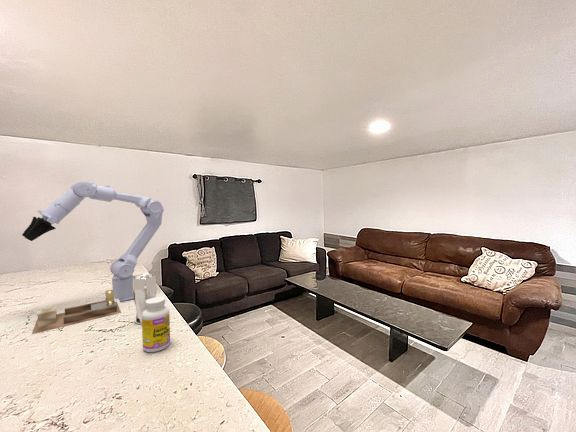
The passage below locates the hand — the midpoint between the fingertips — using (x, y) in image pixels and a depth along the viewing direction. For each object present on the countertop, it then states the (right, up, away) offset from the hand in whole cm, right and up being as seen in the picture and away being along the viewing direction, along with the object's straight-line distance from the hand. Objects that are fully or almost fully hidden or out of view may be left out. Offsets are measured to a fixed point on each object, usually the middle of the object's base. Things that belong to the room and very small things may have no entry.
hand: (26, 238), depth 84 cm
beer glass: (+40, -28, 0) cm, 49 cm away
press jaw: (+22, -26, +6) cm, 34 cm away
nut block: (+10, -27, -3) cm, 29 cm away
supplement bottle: (+52, -28, -16) cm, 61 cm away
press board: (+17, -28, +2) cm, 33 cm away
